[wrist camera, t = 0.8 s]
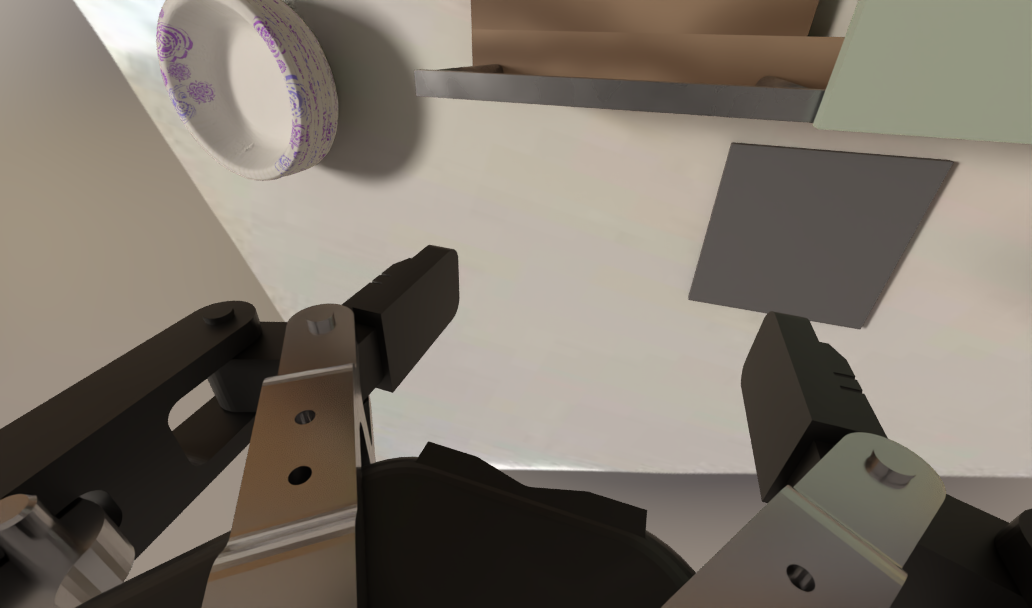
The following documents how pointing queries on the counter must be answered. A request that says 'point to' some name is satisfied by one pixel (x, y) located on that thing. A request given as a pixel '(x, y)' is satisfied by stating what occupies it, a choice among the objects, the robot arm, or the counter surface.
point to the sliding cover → (934, 71)
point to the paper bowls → (249, 84)
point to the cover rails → (625, 93)
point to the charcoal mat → (811, 230)
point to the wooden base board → (655, 40)
